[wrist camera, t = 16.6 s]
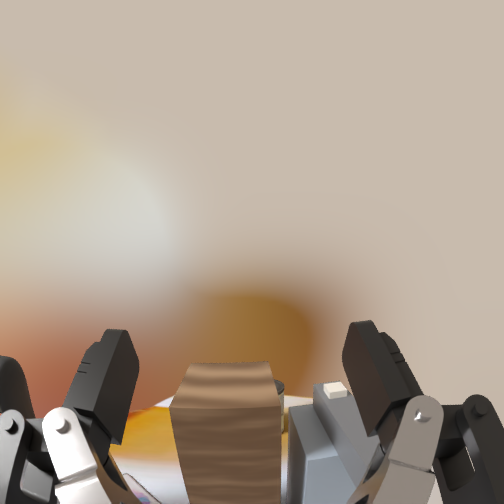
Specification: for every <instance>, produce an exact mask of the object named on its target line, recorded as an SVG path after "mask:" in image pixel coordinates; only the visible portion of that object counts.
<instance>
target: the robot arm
mask: <svg viewBox="0 0 504 504" xmlns="http://www.w3.org/2000/svg"><path fill="white" fill-rule="evenodd" d="M342 362H343V367H344V370H345V372H346V375H347V378H348V381H349V384H350V386H351V389H352V392H353V395H354V398H355V401H356V404H357V407H358V410H359V413H360V416H361V419H362V422H363V425H364V428H365V431H366V434H367V437H372V436H376V435H378V437H379V440H380V442H379V443H378V445H377V448H376V450H375V452H374V454H373V457H372V459H371V461H370V463H369V465H368V468H367V470H366V472H365V474H364V476H363V478H362V480H361V482H360V484H359V485H358V487H357V488H356V490H355V491H354V492H353V494H352V495H351V497H350V498H349V500H348V501H347V503H346V504H427V502H428V500H429V497H430V494H431V491H432V488H433V485H434V481H435V476H436V479H437V482H438V485H439V489H440V493H441V497H442V501H443V504H504V428H503V426H502V424H501V421H500V420H499V418H498V415H497V413H496V411H495V409H494V407H493V405H492V404H491V402H490V401H489V400H488V399H487V398H486V397H484V396H482V395H472V396H470V397H468V398H467V399H466V401H465V402H464V403H463V404H462V405H440V403H439V402H438V401H437V400H435V399H434V398H432V397H430V396H426V395H424V394H423V392H422V391H421V389H420V387H419V385H418V383H417V381H416V379H415V377H414V375H413V373H412V372H411V370H410V368H409V366H408V364H407V362H405V359H404V357H403V355H402V354H401V353H400V349H399V348H398V346H397V344H396V342H395V341H394V340H393V339H392V338H391V337H390V336H388V335H387V334H386V333H385V332H382V333H379V332H378V330H377V328H376V326H375V325H374V323H373V322H372V321H371V320H368V321H360V322H352V323H351V324H350V326H349V329H348V333H347V337H346V340H345V344H344V348H343V352H342ZM138 373H139V360H138V356H137V354H136V351H135V349H134V347H133V344H132V341H131V338H130V336H129V333H128V331H126V330H117V329H107V330H106V331H105V332H104V334H103V336H102V338H101V341H100V342H95V343H94V344H93V345H92V346H91V347H90V348H89V349H88V350H87V351H86V353H85V354H84V357H83V359H82V361H81V364H80V365H79V368H78V370H77V373H76V374H75V377H74V379H73V382H72V384H71V386H70V388H69V391H68V393H67V396H66V398H65V401H64V403H63V405H62V407H60V408H55V409H53V410H52V411H50V412H49V413H48V414H47V415H46V417H45V418H41V419H36V418H35V414H34V411H33V408H32V404H31V399H30V395H29V391H28V386H27V382H26V378H25V375H24V372H23V370H22V368H21V366H20V364H19V363H18V362H17V361H16V360H15V359H13V358H11V357H6V356H0V413H2V415H1V416H0V504H142V502H141V501H140V500H139V499H138V498H137V497H136V496H135V495H134V493H133V492H132V490H131V489H130V487H129V486H128V484H127V482H126V481H125V479H124V477H123V475H122V474H121V472H120V470H119V468H118V467H117V465H116V463H115V461H114V459H113V457H112V455H111V454H110V452H109V448H110V444H117V445H121V443H122V438H123V434H124V430H125V425H126V421H127V417H128V413H129V409H130V404H131V400H132V396H133V393H134V389H135V385H136V381H137V378H138ZM466 447H467V450H468V452H469V455H470V458H471V460H472V463H473V466H474V469H475V472H474V469H473V467H472V464H471V461H470V458H469V455H468V453H467V450H466ZM431 466H433V469H434V472H435V473H434V472H432V471H431Z"/></svg>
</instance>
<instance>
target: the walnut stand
mask: <svg viewBox="0 0 504 504" xmlns="http://www.w3.org/2000/svg"><path fill="white" fill-rule="evenodd" d="M169 410H170V416H171V422H172V428H173V433H174V438H175V443H176V448H177V453H178V458H179V462H180V467H181V471H182V475H183V479H184V483H185V487H186V491H187V495H188V499H189V502H190V504H280V499H281V403H280V400H279V396H278V393H277V389H276V386H275V383H274V379H273V376H272V373H271V369H270V366H269V363H268V361H263V362H242V363H191V364H190V366H189V368H188V370H187V372H186V374H185V376H184V378H183V380H182V382H181V384H180V386H179V388H178V390H177V392H176V394H175V396H174V398H173V400H172V402H171V404H170V406H169Z"/></svg>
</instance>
